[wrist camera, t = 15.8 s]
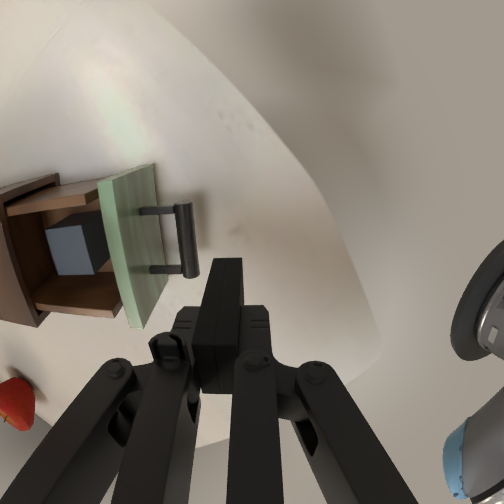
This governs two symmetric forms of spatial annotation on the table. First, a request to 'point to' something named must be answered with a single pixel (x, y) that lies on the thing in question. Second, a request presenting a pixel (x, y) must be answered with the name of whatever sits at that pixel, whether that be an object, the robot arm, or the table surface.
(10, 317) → the cabinet
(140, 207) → the drawer
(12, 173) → the table surface
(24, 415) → the apple
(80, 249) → the block
